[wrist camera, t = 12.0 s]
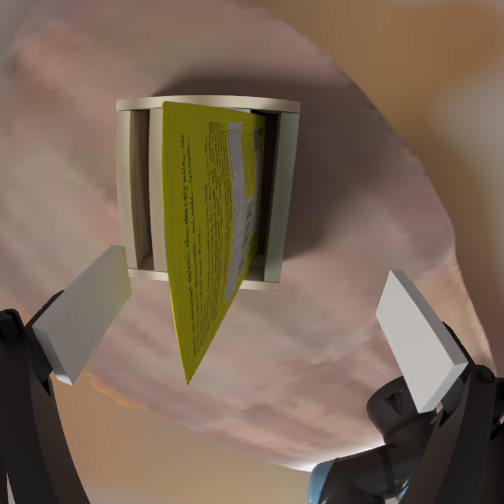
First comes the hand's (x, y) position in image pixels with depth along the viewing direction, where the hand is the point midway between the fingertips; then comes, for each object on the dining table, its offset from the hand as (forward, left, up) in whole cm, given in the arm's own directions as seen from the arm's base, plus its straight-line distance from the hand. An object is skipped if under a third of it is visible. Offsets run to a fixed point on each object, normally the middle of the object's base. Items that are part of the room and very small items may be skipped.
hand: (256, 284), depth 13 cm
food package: (0, 0, -19) cm, 19 cm away
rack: (+5, 0, -19) cm, 20 cm away
